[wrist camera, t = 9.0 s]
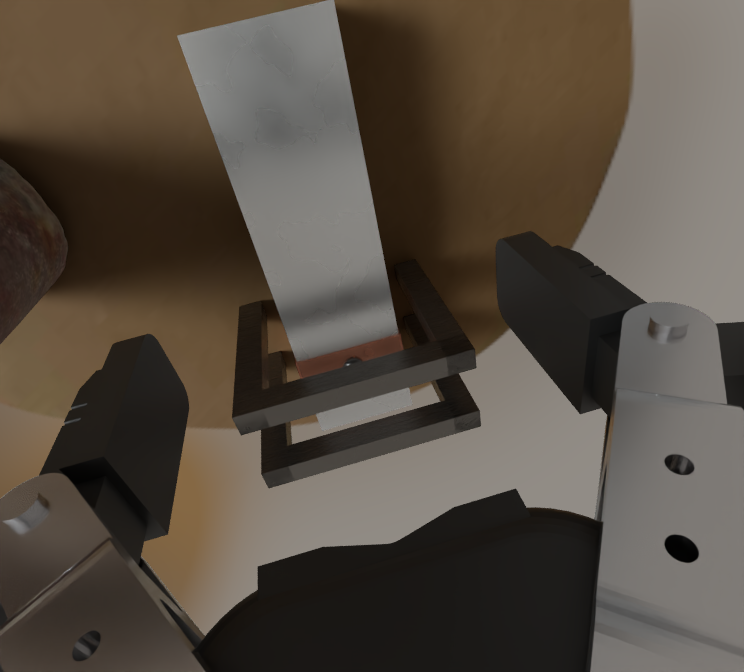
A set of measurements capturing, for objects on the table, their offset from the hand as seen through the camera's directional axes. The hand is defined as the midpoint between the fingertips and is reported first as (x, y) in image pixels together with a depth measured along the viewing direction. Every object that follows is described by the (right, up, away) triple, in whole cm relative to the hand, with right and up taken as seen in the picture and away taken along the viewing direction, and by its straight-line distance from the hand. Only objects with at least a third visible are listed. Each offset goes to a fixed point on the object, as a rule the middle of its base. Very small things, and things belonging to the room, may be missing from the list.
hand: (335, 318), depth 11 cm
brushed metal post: (-2, +5, +13) cm, 14 cm away
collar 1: (-1, +2, +15) cm, 15 cm away
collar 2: (-1, -1, +17) cm, 17 cm away
